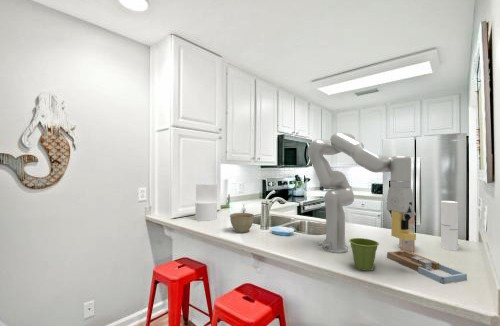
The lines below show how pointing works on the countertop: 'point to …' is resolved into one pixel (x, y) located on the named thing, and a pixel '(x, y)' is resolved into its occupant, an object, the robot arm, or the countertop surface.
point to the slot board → (409, 259)
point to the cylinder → (206, 202)
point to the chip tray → (453, 277)
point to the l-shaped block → (397, 228)
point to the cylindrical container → (449, 225)
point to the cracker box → (411, 243)
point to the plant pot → (363, 252)
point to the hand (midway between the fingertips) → (400, 227)
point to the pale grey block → (416, 259)
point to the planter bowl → (241, 221)
